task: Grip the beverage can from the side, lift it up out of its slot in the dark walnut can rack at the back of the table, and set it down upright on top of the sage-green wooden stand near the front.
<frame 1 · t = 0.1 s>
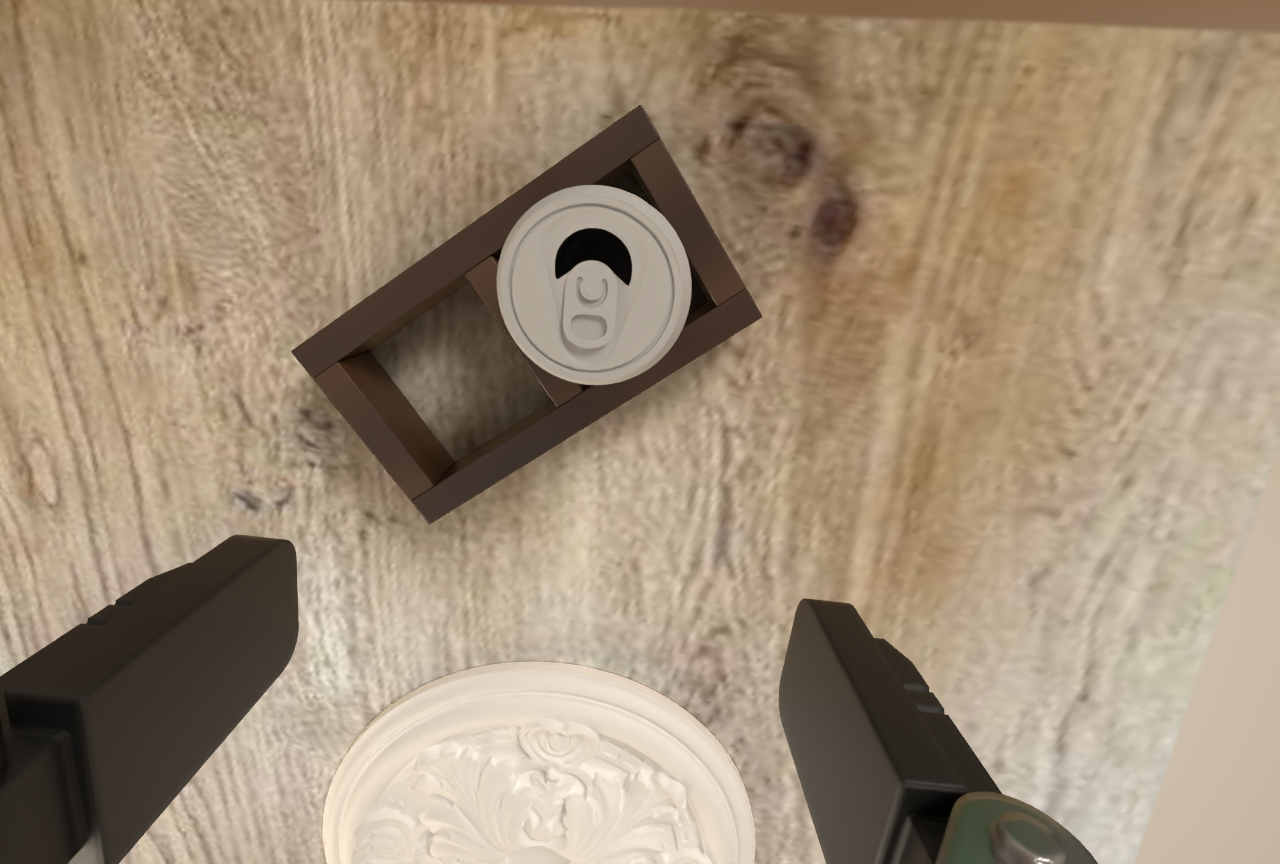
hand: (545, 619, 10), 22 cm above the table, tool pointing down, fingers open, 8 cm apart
ceiling medallion: (542, 839, 40), on the table
can rack: (537, 326, 31), on the table
beverage can: (609, 278, 30), resting in can rack
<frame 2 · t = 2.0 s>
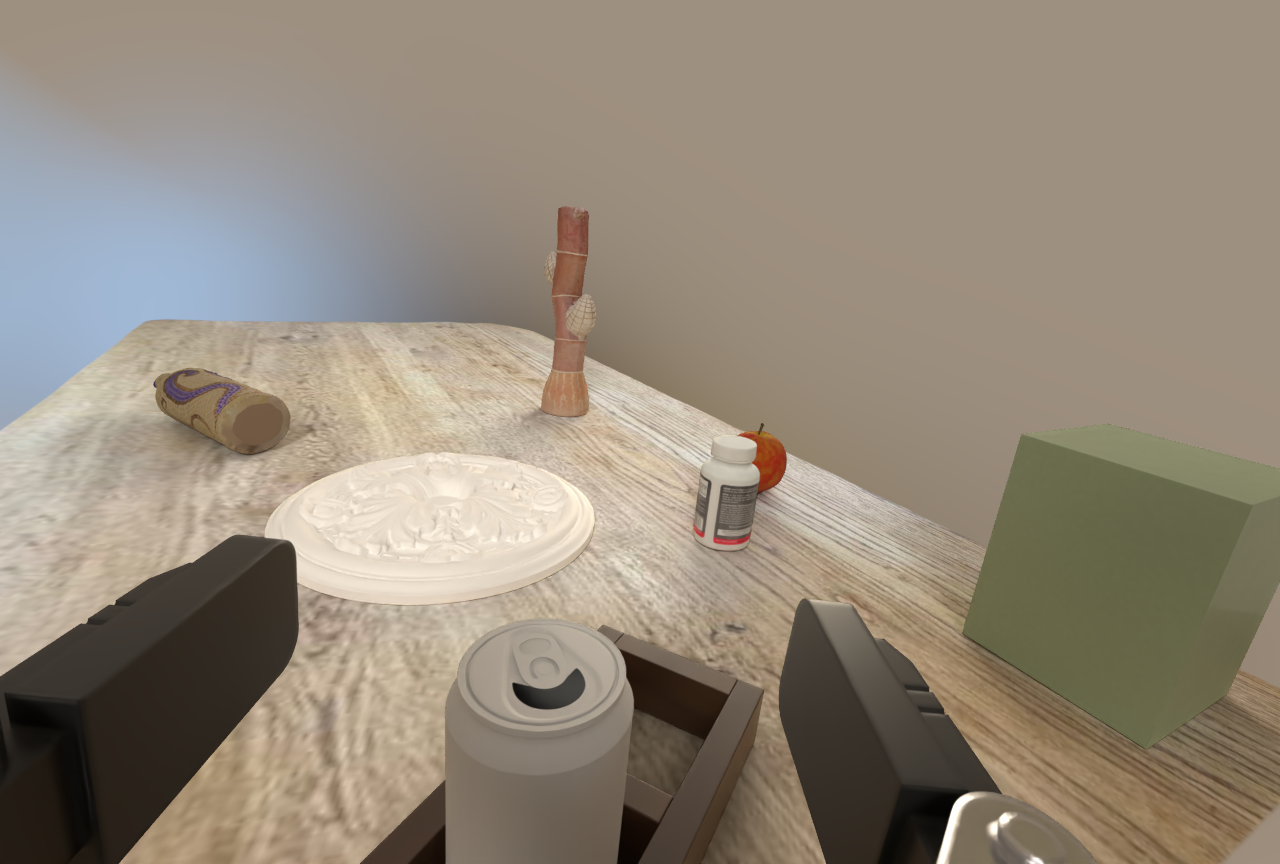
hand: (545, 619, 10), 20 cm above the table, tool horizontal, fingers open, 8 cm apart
ceiling medallion: (442, 519, 56), on the table
pill bottle: (720, 540, 57), on the table
vase: (562, 409, 95), on the table
decorative bottle: (220, 428, 73), on the table
can rack: (588, 830, 28), on the table
stand: (1088, 662, 44), on the table
fruit: (750, 491, 70), on the table
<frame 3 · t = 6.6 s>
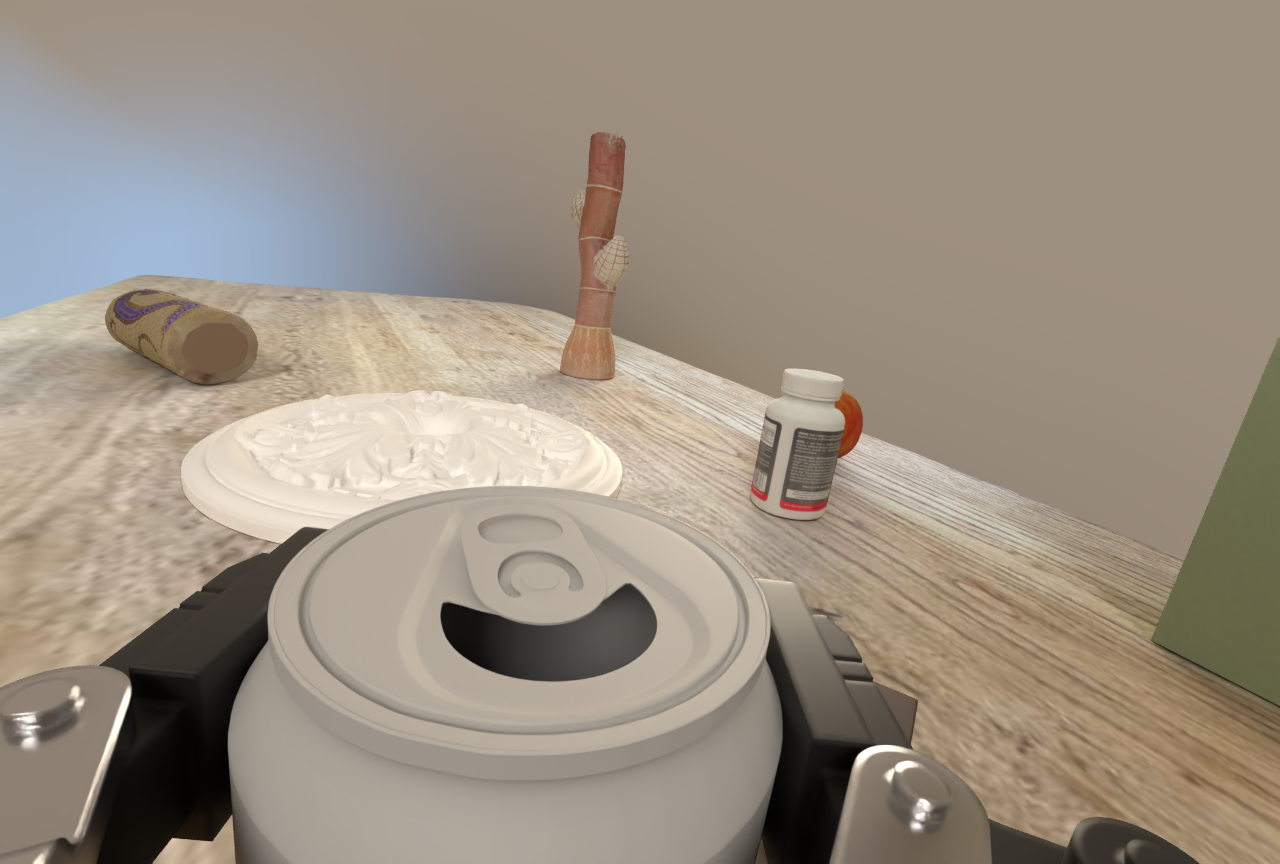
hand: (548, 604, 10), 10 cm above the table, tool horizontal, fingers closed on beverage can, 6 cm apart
ceiling medallion: (427, 462, 43), on the table
pill bottle: (785, 509, 44), on the table
vase: (584, 373, 82), on the table
decorative bottle: (180, 361, 61), on the table
fruit: (813, 461, 56), on the table
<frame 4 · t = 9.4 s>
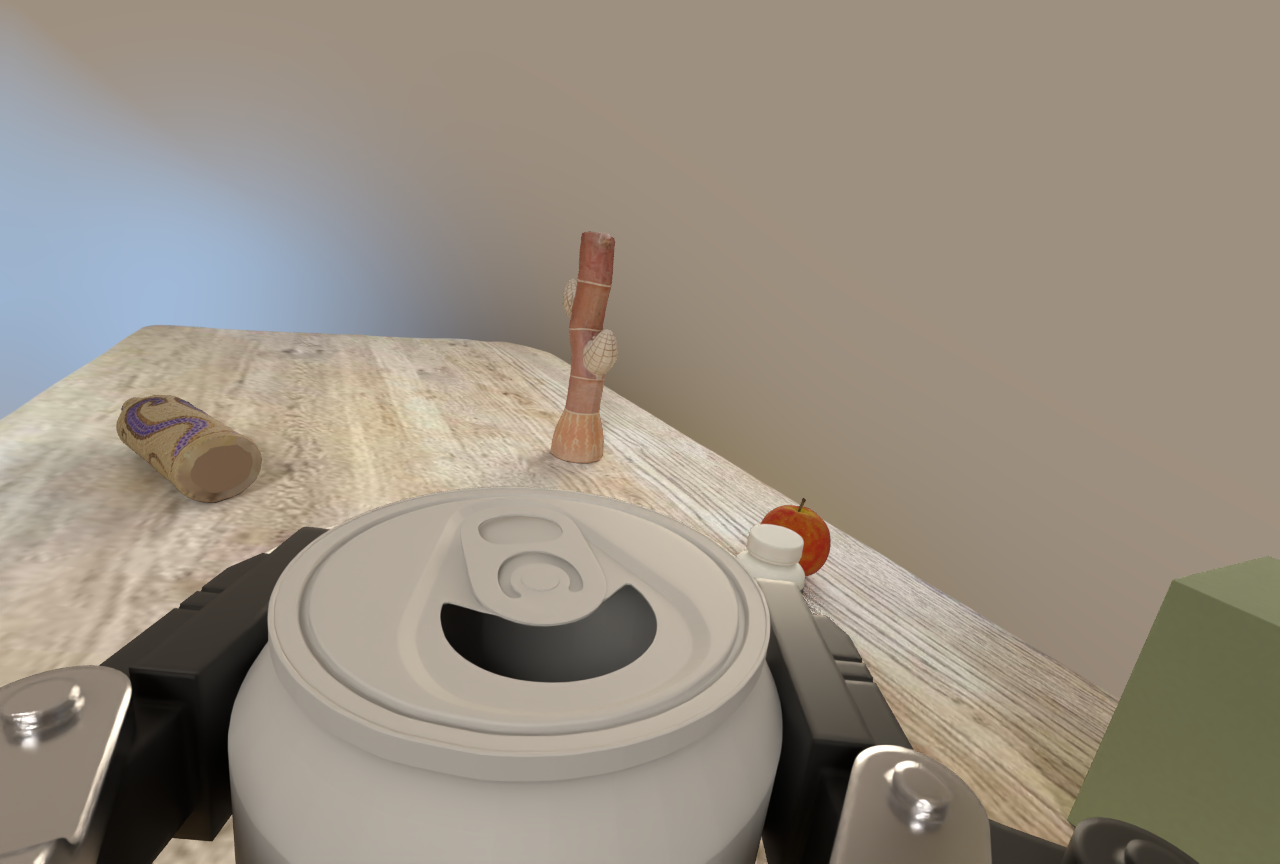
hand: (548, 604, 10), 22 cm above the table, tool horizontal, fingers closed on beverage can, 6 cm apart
pill bottle: (751, 650, 47), on the table
vase: (574, 453, 86), on the table
decorative bottle: (187, 464, 65), on the table
fruit: (785, 575, 60), on the table
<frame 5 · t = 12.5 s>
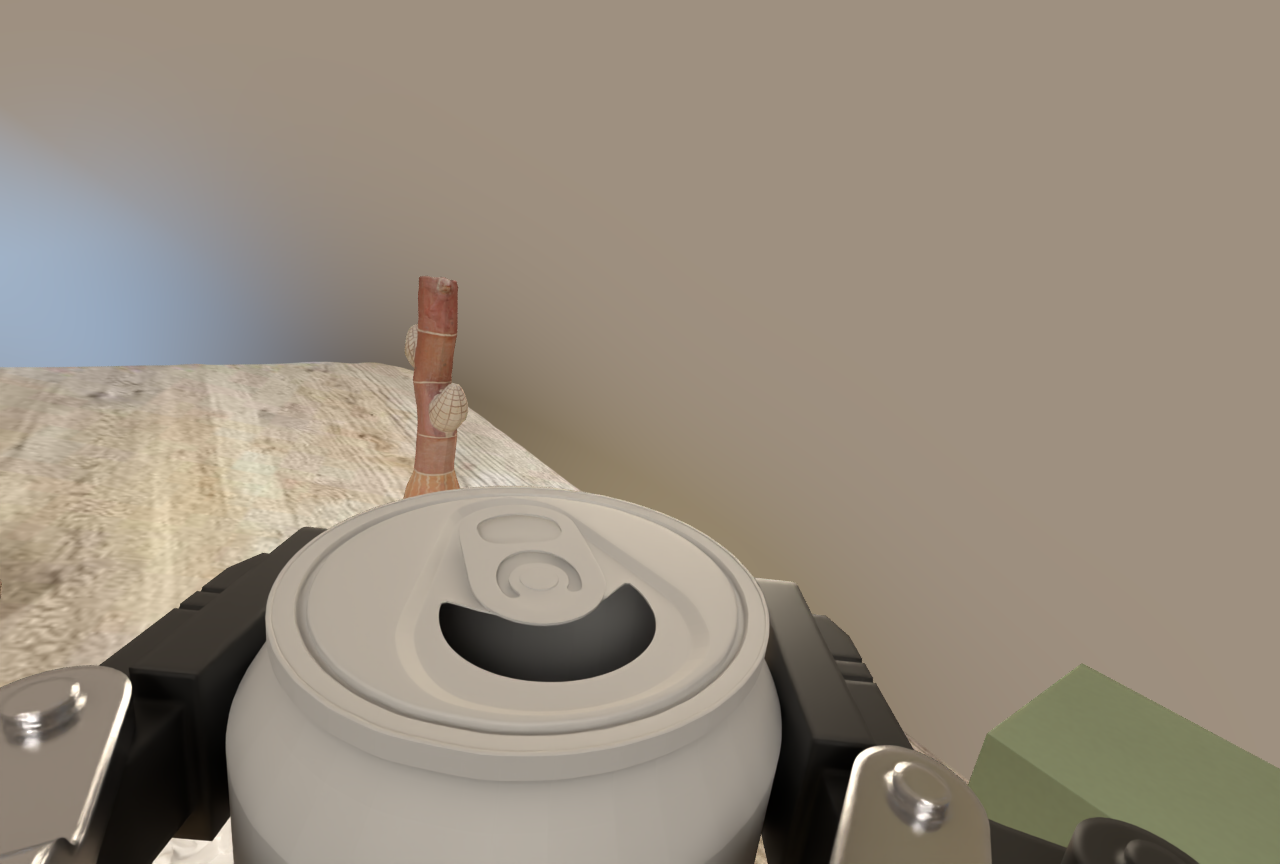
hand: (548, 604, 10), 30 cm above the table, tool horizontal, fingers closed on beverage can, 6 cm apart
ceiling medallion: (190, 777, 39), on the table
vase: (429, 513, 78), on the table
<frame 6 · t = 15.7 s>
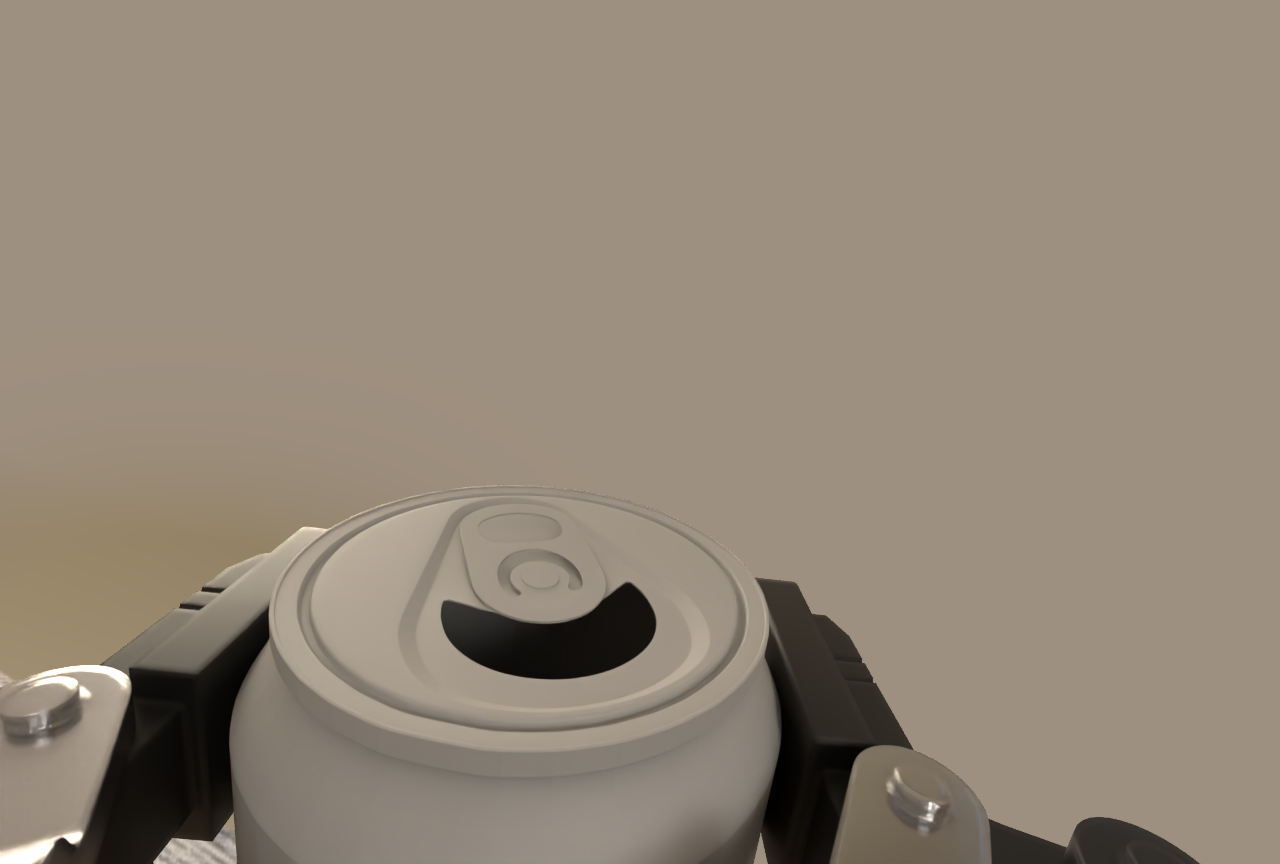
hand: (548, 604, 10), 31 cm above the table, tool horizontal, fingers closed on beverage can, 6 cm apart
when the fingers open (26 cm above the table, at t = 18.3 s): beverage can stays where it is, resting on stand.
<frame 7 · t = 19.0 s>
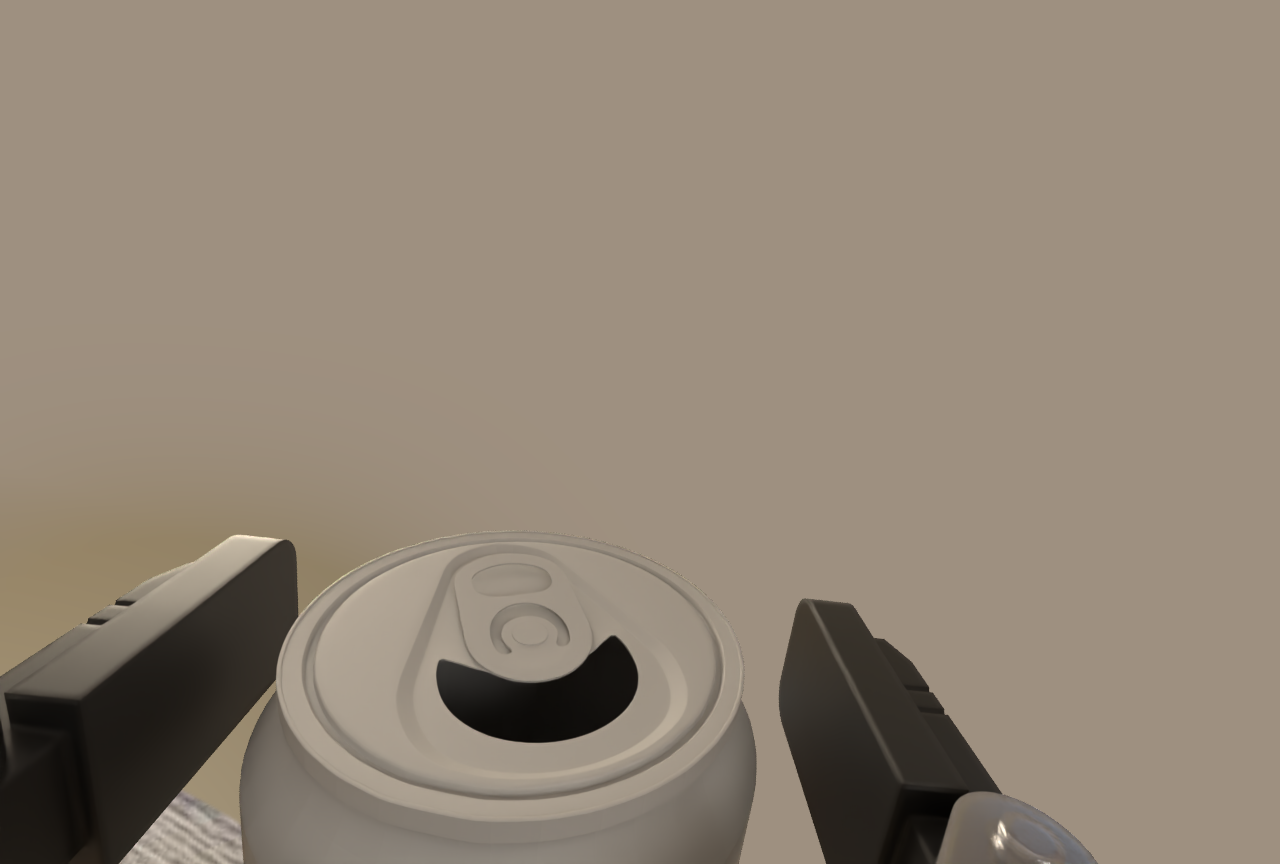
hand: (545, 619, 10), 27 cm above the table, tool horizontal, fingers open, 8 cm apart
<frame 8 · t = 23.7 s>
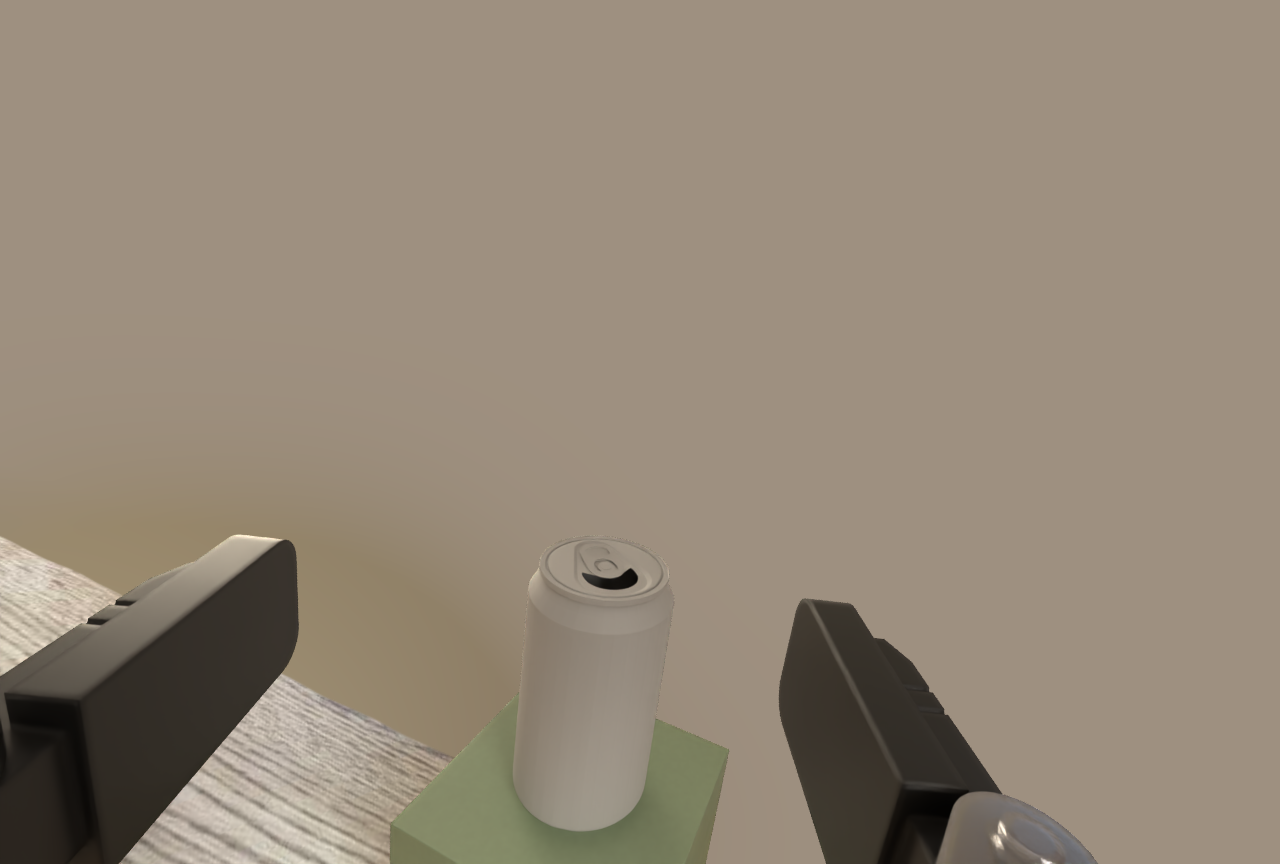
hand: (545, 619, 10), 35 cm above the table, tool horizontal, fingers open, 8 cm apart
beverage can: (577, 786, 29), point 16 cm above the table, touching stand
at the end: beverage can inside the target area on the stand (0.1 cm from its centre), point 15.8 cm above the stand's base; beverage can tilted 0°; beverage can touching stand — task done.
